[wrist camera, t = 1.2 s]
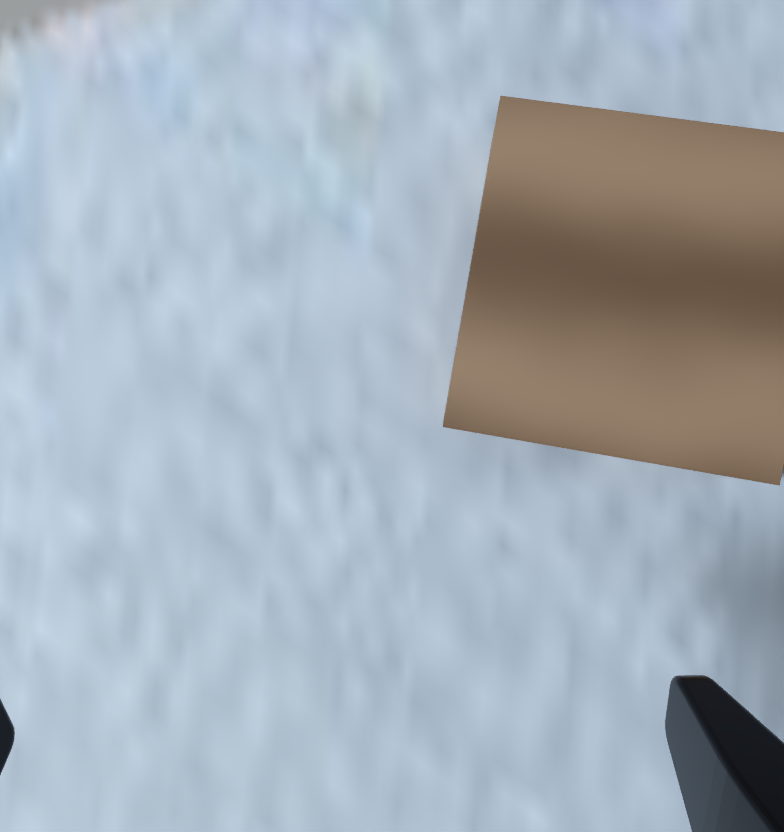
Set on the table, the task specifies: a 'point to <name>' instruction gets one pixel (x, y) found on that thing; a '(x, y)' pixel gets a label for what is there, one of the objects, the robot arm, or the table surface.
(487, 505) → the table surface
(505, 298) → the walnut pedestal
